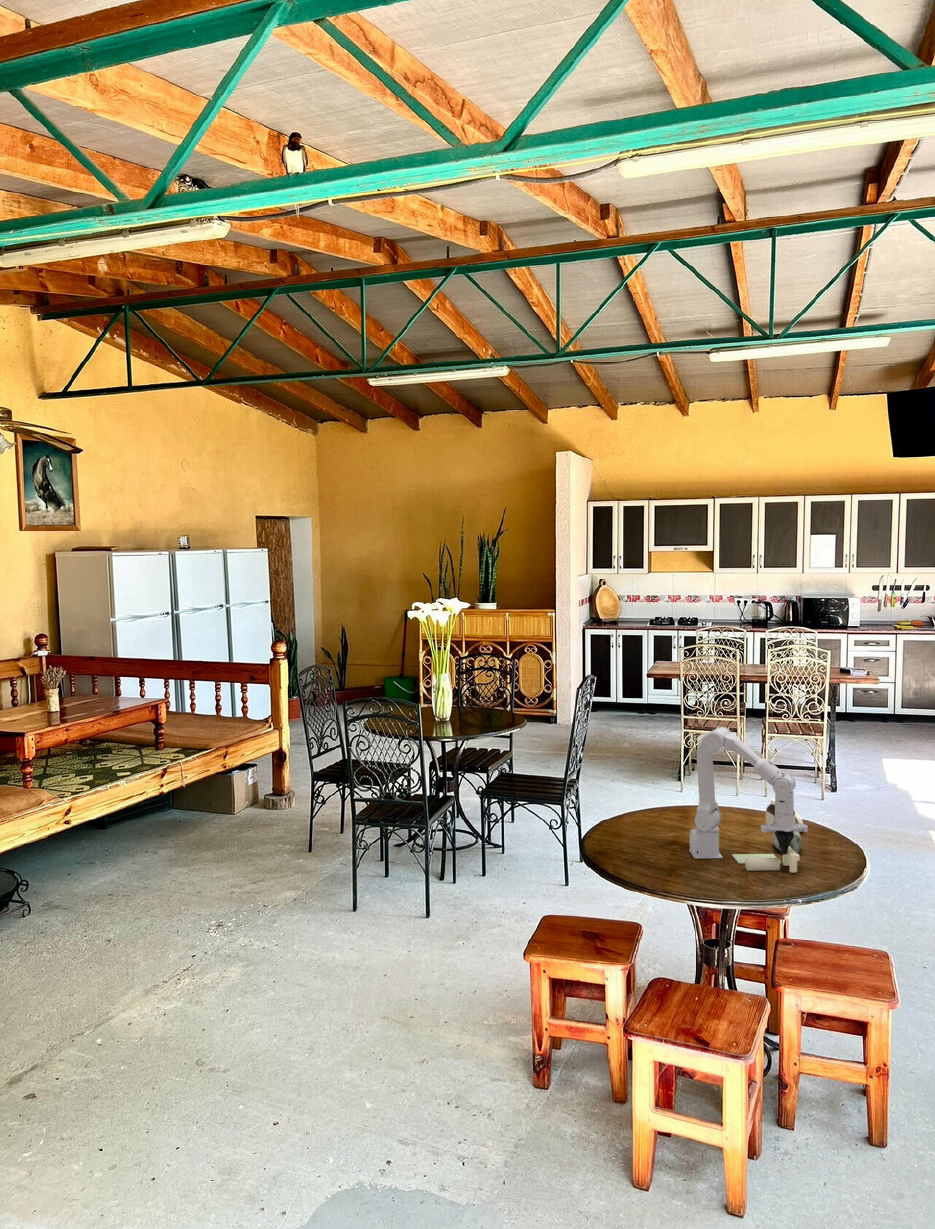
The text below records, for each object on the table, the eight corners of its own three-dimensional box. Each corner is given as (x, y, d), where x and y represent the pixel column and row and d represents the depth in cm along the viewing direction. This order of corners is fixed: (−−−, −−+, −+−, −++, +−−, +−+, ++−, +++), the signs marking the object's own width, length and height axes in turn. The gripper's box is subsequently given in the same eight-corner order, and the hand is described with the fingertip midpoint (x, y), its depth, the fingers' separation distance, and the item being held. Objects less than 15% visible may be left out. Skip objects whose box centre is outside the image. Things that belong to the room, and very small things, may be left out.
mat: (738, 863, 288) (738, 862, 288) (731, 855, 296) (731, 854, 296) (781, 863, 288) (781, 862, 288) (773, 854, 296) (773, 853, 296)
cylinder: (748, 872, 281) (748, 861, 280) (744, 867, 285) (745, 855, 284) (779, 872, 280) (780, 860, 280) (775, 867, 284) (776, 855, 284)
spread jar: (762, 828, 324) (762, 798, 323) (783, 824, 329) (784, 793, 328) (787, 837, 313) (788, 806, 312) (809, 832, 318) (810, 801, 317)
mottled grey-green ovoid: (809, 849, 291) (794, 821, 294) (783, 861, 293) (768, 833, 295) (804, 845, 304) (790, 819, 307) (779, 857, 306) (765, 830, 308)
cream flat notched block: (791, 874, 277) (792, 855, 277) (782, 864, 286) (782, 846, 286) (799, 874, 277) (799, 855, 276) (789, 864, 286) (789, 846, 285)
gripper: (765, 816, 277) (765, 858, 278) (811, 815, 277) (810, 857, 278) (758, 809, 284) (758, 850, 285) (803, 809, 284) (802, 850, 285)
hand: (783, 853), depth 282 cm, fingers closed
